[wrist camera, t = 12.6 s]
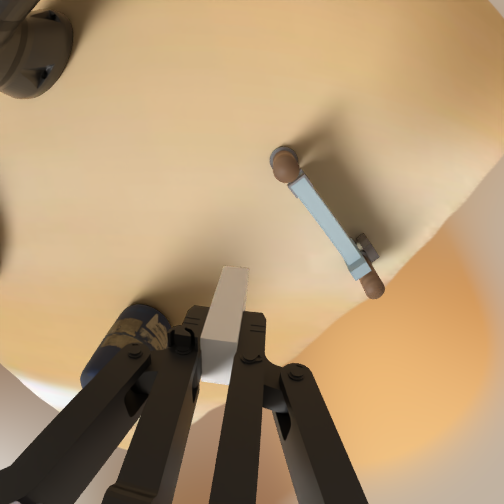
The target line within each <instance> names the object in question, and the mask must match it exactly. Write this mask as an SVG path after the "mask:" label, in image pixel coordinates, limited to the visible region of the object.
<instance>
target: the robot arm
mask: <svg viewBox="0 0 504 504" xmlns="http://www.w3.org/2000/svg"><path fill="white" fill-rule="evenodd" d="M39 1H40V0H0V92H2V93H4V94H7V95H9V96H11V97H13V98H17V99H30V98H35V97H38V96H40V95H41V94H43V93H44V92H46V91H47V90H48V89H49V88H50V87H51V86H52V85H53V84H54V83H55V82H56V80H57V79H58V78H59V76H60V75H61V73H62V71H63V69H64V68H65V65H66V63H67V61H68V58H69V55H70V52H71V48H72V42H73V31H72V26H71V23H70V21H69V19H68V18H67V17H66V16H65V15H64V14H62V13H60V12H57V11H54V10H49V9H44V10H37V11H31V10H32V9H33V8H34V7H35V6H36V5H37V3H38V2H39ZM248 276H249V268H242V267H233V266H223V269H222V272H221V275H220V278H219V281H218V284H217V287H216V290H215V293H214V297H213V300H212V303H211V306H210V307H202V306H195V305H194V306H193V307H192V308H191V309H189V310H188V312H187V314H186V317H185V319H184V322H183V324H182V325H179V326H175V327H173V328H171V329H169V331H168V332H167V338H168V348H167V349H164V350H154V351H150V349H149V348H148V346H146V345H145V344H143V343H139V342H136V343H130V344H127V345H126V346H124V347H123V348H122V349H121V350H120V351H119V352H118V353H117V354H116V355H115V356H114V357H113V358H112V359H111V360H110V361H109V362H108V363H107V364H106V365H105V366H104V367H103V368H102V369H101V370H100V371H99V372H98V373H97V374H96V376H95V377H94V378H93V379H92V380H91V381H90V382H89V383H88V384H87V385H86V386H85V387H84V388H83V389H82V390H81V391H80V392H79V393H78V394H77V395H76V396H75V397H74V398H73V399H72V400H71V401H70V402H69V404H68V405H67V406H66V407H65V408H64V409H63V410H62V411H61V412H60V413H59V414H58V415H57V416H56V417H55V418H54V419H53V420H52V421H51V423H50V424H49V425H48V426H47V427H46V428H45V429H44V430H43V431H42V432H41V433H40V434H39V435H38V436H37V437H36V439H35V440H34V441H33V442H32V443H31V444H30V445H29V446H28V447H27V448H26V449H25V450H24V452H23V453H22V454H21V455H20V456H19V457H18V458H17V459H16V460H15V462H14V463H13V464H12V465H11V466H9V467H7V468H4V469H2V470H0V504H74V503H75V502H76V500H77V499H78V498H79V496H80V495H81V493H82V492H83V491H84V490H85V489H86V487H87V486H88V485H89V483H90V482H91V481H92V479H93V478H94V477H95V475H96V474H97V473H98V471H99V470H100V469H101V467H102V466H103V465H104V464H105V462H106V461H107V460H108V458H109V457H110V456H111V454H112V453H113V451H114V450H115V449H116V448H117V446H118V445H119V444H120V442H121V441H122V440H123V438H124V437H125V436H126V434H127V433H128V432H129V430H130V429H131V428H132V426H133V425H134V424H135V422H136V421H137V420H138V418H139V417H140V416H141V417H140V419H139V422H138V424H137V427H136V430H135V432H134V435H133V438H132V440H131V443H130V446H129V448H128V451H127V454H126V456H125V459H124V462H123V465H122V468H121V470H120V473H119V476H118V479H117V481H116V483H115V484H113V485H111V486H109V488H108V489H107V491H106V493H105V495H104V498H103V501H102V503H101V504H172V501H173V497H174V492H175V488H176V484H177V480H178V475H179V471H180V467H181V463H182V459H183V455H184V451H185V446H186V442H187V438H188V434H189V430H190V426H191V422H192V418H193V414H194V410H195V406H196V402H197V398H198V394H199V382H200V378H201V381H203V382H210V383H217V384H224V385H229V388H228V394H227V400H226V406H225V411H224V417H223V424H222V429H221V435H220V441H219V447H218V452H217V458H216V464H215V471H214V476H213V482H212V488H211V493H210V499H209V504H256V492H257V479H258V466H259V452H260V436H261V422H262V421H261V420H262V407H264V408H267V409H270V410H272V413H273V416H274V420H275V423H276V427H277V431H278V434H279V438H280V441H281V445H282V448H283V452H284V455H285V459H286V462H287V465H288V469H289V472H290V475H291V479H292V482H293V486H294V489H295V493H296V496H297V499H298V502H299V504H368V502H367V499H366V497H365V494H364V492H363V490H362V487H361V485H360V483H359V480H358V478H357V476H356V473H355V471H354V469H353V467H352V464H351V462H350V459H349V458H348V455H347V453H346V450H345V448H344V446H343V443H342V441H341V439H340V436H339V434H338V432H337V430H336V427H335V425H334V422H333V420H332V418H331V416H330V413H329V411H328V409H327V406H326V404H325V402H324V400H323V397H322V395H321V393H320V390H319V388H318V386H317V383H316V381H315V379H314V377H313V374H312V372H311V371H310V369H309V368H308V367H306V366H305V365H302V364H299V363H291V364H287V365H286V366H284V367H280V366H277V365H275V364H272V363H271V362H270V361H269V360H268V359H267V358H266V356H265V335H266V318H265V316H264V315H263V313H258V312H249V311H245V307H246V297H247V286H248Z"/></svg>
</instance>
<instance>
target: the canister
mask: <svg viewBox="0 0 504 504" xmlns="http://www.w3.org/2000/svg"><path fill="white" fill-rule="evenodd" d="M169 329H171V326H170V324H169V322H168V320H167V319H166V318H165V316H164V315H163V314H161V313H160V312H159V311H157V310H156V309H154V308H152V307H150V306H146V305H140V304H137V305H132V306H129V307H127V308H126V309H125V310H124V311H123V312H122V313H121V314H120V316H119V317H118V319H117V320H116V322H115V323H114V324H113V326H112V327H111V329H110V330H109V332H108V333H107V335H106V336H105V338H104V339H103V341H102V342H101V344H100V345H99V347H98V348H97V350H96V351H95V353H94V354H93V356H92V357H91V359H90V360H89V362H88V364H87V365H86V367H85V368H84V370H83V372H82V374H81V378H80V381H81V386H82V388H84V387H85V386H86V385H87V384H88V383H89V382H90V381H91V380H92V379H93V378H94V377H95V376H96V374H97V373H98V372H99V371H100V370H101V369H102V368H103V367H104V366H105V365H106V364H107V363H108V362H109V361H110V360H111V359H112V358H113V357H114V356H115V355H116V354H117V353H118V352H119V351H120V350H121V349H122V348H123V347H124V346H126V345H127V344H130V343H136V342H139V343H143V344H145V345H146V346H148V348H149V349H150V351H154V350H164V349H167V348H168V338H167V332H168V331H169Z"/></svg>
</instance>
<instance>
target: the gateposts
mask: <svg viewBox="0 0 504 504" xmlns="http://www.w3.org/2000/svg"><path fill="white" fill-rule="evenodd" d="M270 165H271V167H272V169H273V173H274V176H275V177H276V179H277V180H279V181H280V182H283V183H290V182H292V181H294V180H295V179H296V178H297V177H298V175H299V172H300V168H299V165H298V158H297V155H296V153H295V152H294V151H293V150H292V149H290V148H288V147H279V148H277V149H275V150H274V151H273V152H272V154H271V156H270ZM357 240H358V241H359V243H360V245H361V246H362V248H363V249H364V251H360V252H361V253H362V255H363V257H364V259H365V260H366V262H367V264H368V265H369V267H370V269H371V270H372V271H370V272H369V273H367V274H366V275H364V276H363V277H361V278H360V279H359V280H360V282H361V284H362V286H363V288H364V291H365V293H366V295H367V296H368V297H369V298H370V299H377V298H379V297H381V296H382V294H383V293H384V291H385V287H384V285H383V283H382V281H381V279H380V278H379V276H378V274H377V273H376V271H375V269H374V268H373V266H372V264H371V262H373V261H375V260H376V259H378V258H379V255H378V254H377V252H376V251H375V249H374V247H373V246H372V244H371V243H370V242H369V240H368V239H367V237H366V236H365V235H364V234H362V235H361V236H359V237H358V238H357Z"/></svg>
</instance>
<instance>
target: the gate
mask: <svg viewBox="0 0 504 504" xmlns="http://www.w3.org/2000/svg"><path fill="white" fill-rule="evenodd" d="M287 185H288V188H289V189H290V190H291V191H292V193H293V194H294V195H295V197H296V198H299V199H300V200H301V201H302V203H303V204H304V205H305V207H306V208H307V209H308V211H309V212H310V213H311V215H312V216H313V217H314V219H315V220H316V221H317V223H318V224H319V225H320V227H321V228H322V229H323V231H324V232H325V233H326V235H327V236H328V237H329V239H330V240H331V242H332V243H333V244H334V246H335V247H336V248H337V250H338V251H339V253H340V254H341V255H342V257H343V258H344V260H345V263H346V265H347V267H348V269H349V271H350V273H351V275H352V276H353V278H354V279H355V280H356V281H357V280H358V279H360V278H361V277H363V276H364V275H366V274H367V273H369V272H370V271H372V270H371V269H370V267H369V265H368V264H367V262H366V260H365V259H364V257H363V255H362V253H361V252H360V250H359V248H358V247H357V245H356V244H355V242H354V241H353V239H352V238H349V236H348V235H347V233H346V232H345V231H344V229H343V228H342V226H341V225H340V223H339V222H338V221H337V219H336V218H335V216H334V215H333V214H332V212H331V211H330V209H329V208H328V207H327V205H326V204H325V202H324V201H323V200H322V198H321V197H320V196H319V194H318V193H317V192H316V190H315V189H314V188H313V185H312V183H311V182H310V181H309V178H308V177H307V176H306V174H305V173H304V172H303V170H302V169H301V168H300V172H299V175H298V177H297V178H296V179H295V180H294V181H292V182H290V183H289V184H287Z"/></svg>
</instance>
